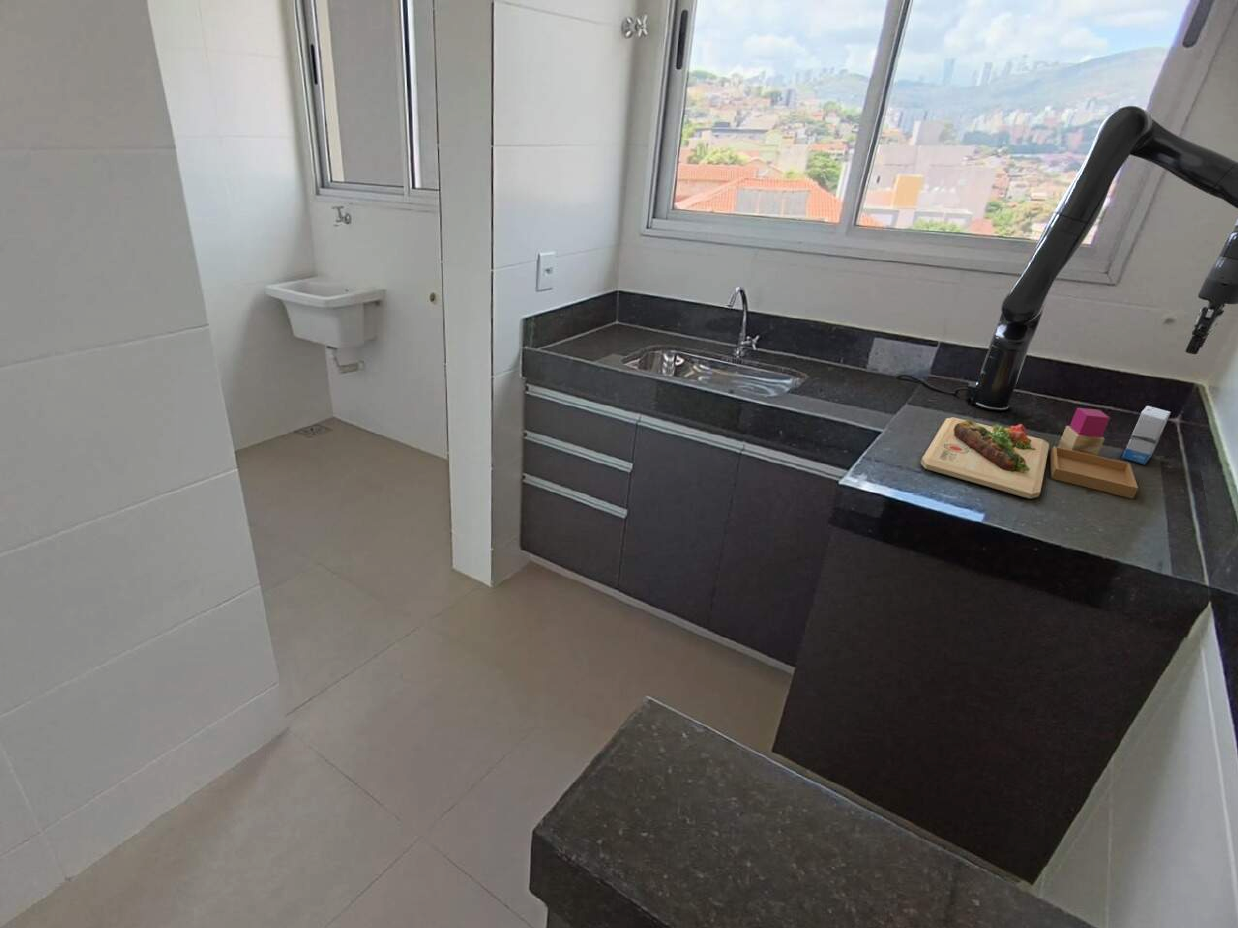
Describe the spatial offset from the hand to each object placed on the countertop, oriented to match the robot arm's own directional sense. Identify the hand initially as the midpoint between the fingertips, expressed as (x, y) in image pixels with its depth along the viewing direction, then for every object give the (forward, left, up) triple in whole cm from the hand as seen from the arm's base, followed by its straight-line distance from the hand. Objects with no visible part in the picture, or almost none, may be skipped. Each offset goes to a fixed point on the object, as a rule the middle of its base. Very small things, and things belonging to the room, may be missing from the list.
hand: (1193, 350), depth 153 cm
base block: (-16, -16, -26) cm, 34 cm away
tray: (-14, -28, -26) cm, 40 cm away
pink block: (-16, -16, -20) cm, 30 cm away
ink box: (-3, -8, -26) cm, 27 cm away
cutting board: (-35, -32, -26) cm, 54 cm away
